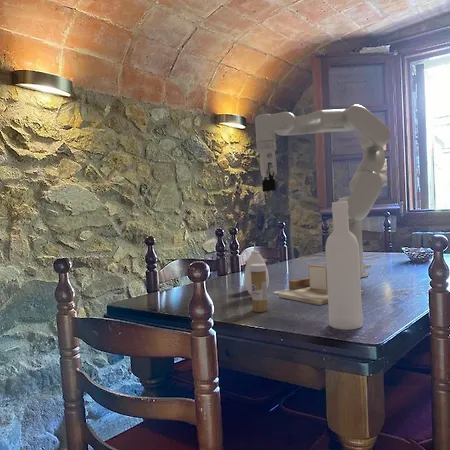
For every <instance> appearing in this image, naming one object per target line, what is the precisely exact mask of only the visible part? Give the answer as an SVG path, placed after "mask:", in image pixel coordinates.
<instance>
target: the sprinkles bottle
mask: <svg viewBox="0 0 450 450" xmlns="http://www.w3.org/2000/svg"><path fill="white" fill-rule="evenodd" d="M250 271H251V285H252V295H251V299H252V300H251V301H252V311H253V312H255V313H263V312H267V311H268V310H269V307H268V293H267V292H268V290H267V286H266V265H265V264H251V265H250Z"/></svg>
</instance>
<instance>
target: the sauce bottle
mask: <svg viewBox="0 0 450 450" xmlns="http://www.w3.org/2000/svg"><path fill="white" fill-rule="evenodd" d="M253 245H254V246H253V247H254V248H253V251H250V253H251V254H250V255H249V257H248V258H247V260H248V261H247V264H246V266H245V267H244V284H245V288H246V291H247V292H248V294H249V295H251V296H252V285H251V271H250V265H251V264H265V262H264V260H263V259H264V258H263V257H262V255H261V254H260V251H258V250H257V249H256V247H257V246H256V244H255V242H254V244H253ZM265 265H266V264H265ZM269 276H270V275H269V271H268V265H267V266H266V286H267V289H268V290H269V285H270V283H269V282H270V279H269V278H270V277H269Z"/></svg>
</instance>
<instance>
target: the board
mask: <svg viewBox="0 0 450 450" xmlns="http://www.w3.org/2000/svg"><path fill="white" fill-rule="evenodd" d="M363 295H365V290H363V289H361V296H363ZM278 296H279V298H281V299H282V298H283V299H288V300H291V301H298V302H302V303H307V304H312V305H313V304H314V305H318V306H321V305H326V304H328V291H322V290H315V289H310V287H308V288H303V289H298V290H293V291H288V292H284V293H279V294H278Z"/></svg>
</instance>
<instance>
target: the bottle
mask: <svg viewBox="0 0 450 450" xmlns="http://www.w3.org/2000/svg"><path fill="white" fill-rule="evenodd" d="M331 213H332V230H333V231H332V232H331V233H330V234H329V236H328V237H327V239H326V242H325V246H324V247H325V248H324V249H325V263H326V265H325V266H326V269H327V288H328V303H327V304H328V323H329V324H328V325H329V327H331V328H333V329H335V330H345V331H349V330H357V329H360V328H362V327H363V325H364V324H363V319H364V316H363V306H362V305H363V304H362V295H361V290H362V283H361V278H360V261H359V244H358V241H357V239H356V237H355V235H353V234H352V233H351V232H350V231H349V222H348V202H346V201H344V202H337V201H334V202H333V201H332V202H331Z"/></svg>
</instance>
